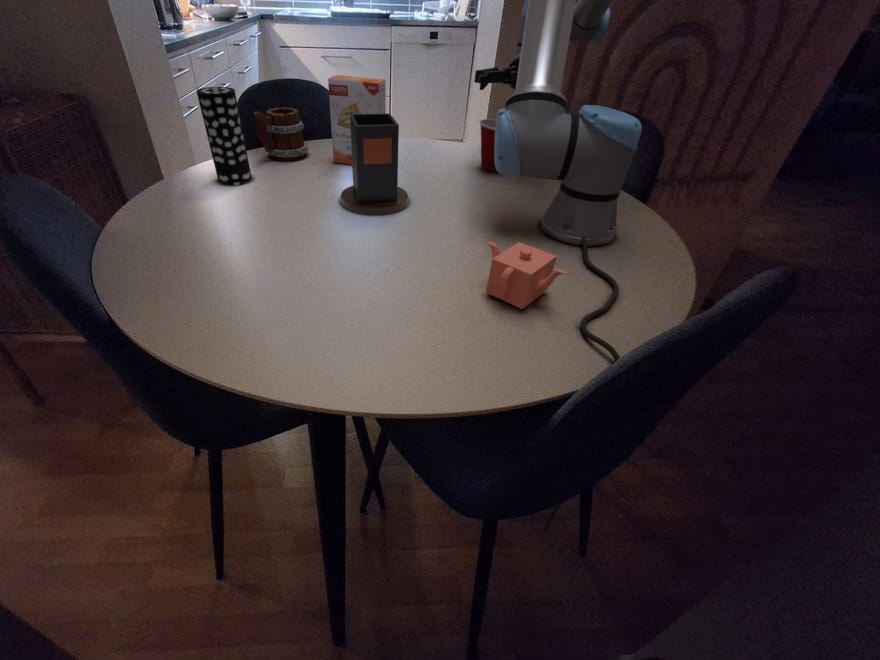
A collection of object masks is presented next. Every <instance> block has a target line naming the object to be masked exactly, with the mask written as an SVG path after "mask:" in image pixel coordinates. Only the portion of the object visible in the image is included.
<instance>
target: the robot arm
mask: <svg viewBox="0 0 880 660" xmlns="http://www.w3.org/2000/svg"><path fill="white" fill-rule="evenodd" d="M612 2H613V0H524V3H523V9H522V13H521V18H520V25H519V31H518V37H517V44H516V48H515V53H514V58H513V59H512V61H511V62H510V63H509V64H508V66H506V67H503V68H502V69H501V68H500V66H498V65H496V66H493V67H488V68H483V69H482V68H481V69H476V70H475V74H474V81H473V82H474V83H475V84H479V91H483V90H485V89H486V87H487V86H488V85H489V84H497V83H500V84H503V85H508V86H509V87H510V88H511V89H512V90H514V92H513V93H512V94H511V95H510V96H508V97H507V98H506V100H505V104H504V107H502V108H500V109H498V110H497V112H496V115H495V116H496V117H495V119H496V124H495V125H496V127H495V143H494V160H495V168H496V170H497V172H496V173H498V174H500V175H503V176H510V177H515V178H517V179H519V178H531V179H532V178H533V179H543V180H554V181H561V182H560V185H559V189H558V192H557V193H556V195H555V196H554V198H553V200H552V201H551V203H550V204H549V206H548V208H547V209H546V210H545V212H544V214H543V216H542V220H541V224H540V227H541V229H542V231H543V232H544V233H545V234H546V235H547V236H549V237H551V238H553V239H555V240H557V241H560V242H563V243H566V244H569V245H574V246H582V252H583V261H584V263H585V265H586V266H587V267H588V268H589V269H590V270H591V271H593V272H594V273H596V274H597V275H599V276H601V277H603V278H604V279H606V280H607V282H609V283H610V284H611V286H612V291H613V292H612V294H611V296H610V298H609V299H608V301H607V302H606V303H605V305H603V306H602V307H600V308H599V309H596V310H594V311H592V312H590V313H588V314H587V315H585V316H584V317H583V318H582V319H581V321H580V331H581V332H582V334H583V336H585V337H586V338H587V339H589V340H591V341H592V342H594V343H596V344H597V345H600V346H601V347H602V348H604V349H605V350H606V351H607V352H608V353H609V354H610V355H611V356H612V358H613V360H614V362H615V361H617V360H618V359H619V358H620V359H621V356H620V354H619V353H618V351H617V350H616V349H615V348H614V346H612V345H611V344H610V343H608V342H607V341H605V340H604V339H602V338H600V337H598V336H597V335H595V334H593V333H592V332H590V331H589V330H588V328H587V324H588V321H590V320H591V319H593V318H595V317H597V316H599V315H601V314H603V313H605V312H606V311H607V310H609V309H610V308H611V307H612V305H613V304H614V303H615V301H616V299H617V297H618V295H619V293H620V292H619V285H618V282H617V281H616V280H615V279H614V278H613V277H612V276H611V275H609V274H608V273H607V272H605V271H604V270H602V269H600V268H598V267H597V266H595V265H594V264H593V263H592V262H591V261H590V258H589V248H588V247H599V246H603V245H606V244H608V243H610V242H612V241H613V239H614V236H615V234H616V232H617V217H618V212H617V211H618V199H619V196H620V194H621V190H622V188H623V185H624V183H625V180H626V178H627V174H628V171H629V170H630V166H631V163H632V161H633V157H634V155H635V153H636V151H637V150H638V144H639V142H640V137H641V135H642V129H643V125H642V123H641V121H640V120H639V119H638V118H637V117H635V116H633V115H631V114H630V113H627V112H624V111H622V110H618V109H614V108H611V107H607V106H601V105H595V104H592V105H591V104H584V105H582V106H581V108H580V109H579V110H578V114H573V113H567V106H568V100H567V98H566V97H565V96H564V94H562V87H563V81H564V75H565V69H566V63H567V58H568V52H569V51H568V50H569V44H570V42H581V43H582V42H583V43H586V44H587V43H599V42H601V41H602V40H603V39H604V37H605V35H606V32H607V30H608V26H609V23H610V18H611V8H610V6H611V4H612ZM562 504H563V502H560V503H559V504H556V503H555V505H554V507H553V508H552V510H551V513H550V515H549V516H548V519H547V520H546V522H545V524H544V527H543V531H544V532H548V531H549V528H550V526H551V525H552V523H553V520H554V518H555V516H556V515H557V513H558V511H559V509H560V507H561V506H562Z"/></svg>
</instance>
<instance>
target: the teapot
mask: <svg viewBox="0 0 880 660" xmlns="http://www.w3.org/2000/svg"><path fill="white" fill-rule="evenodd" d="M486 244H487V245H488V246H489V247H490V249H491V253H492V254H491V255H492V259H491V263H490V269H489V274H488V280H487V285H486V291H485V293H486V294H488V295H491V296H493V297H495V298H497V299H500V300H502V301H503V302H505V303H508V304H510V305H512V306H514V307H516V308H518V309H521V310H524V309H525V308H527V306H529V305H530V304H531V303H533V302H534V301H535V300H536V299H538V297H540V296H541V295H542V294H544V293H545V292H547V291H548V289H549V287H550V286H552V284H553V283H554V281H555V280H556V278H557V277H558V276H561V275H565V274H566V275H567V274H569V271H567V270H565V269H562V268H556V269H554V268H555V265H556V261H557V258H558V256H557V255H555V254H552V253H550V252H547V251H544V250H542V249H540V248H536V247H534V246H531V245H528V244H525V243H523V242H520V241H519V242H517V243H515V244H514V245H512V246H510V247H509V248H507V249H505V250H504V251H502V252H500V249H499V246H498V245H497V244H496V243H495V242H493V241H490V240H486Z"/></svg>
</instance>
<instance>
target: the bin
mask: <svg viewBox="0 0 880 660" xmlns="http://www.w3.org/2000/svg"><path fill="white" fill-rule="evenodd" d="M350 124H351V147H352V165H351V167H352V186H353V188H354V191H355V194H356V197H357V200H358V203H375V202H394V201H397V187H398V183H399V181H398V179H399V178H398V176H399V136H400V125H399V123H398V122H397V120H396V119H395V118H394V116H393V115H392V114H391V113H385V114H350Z"/></svg>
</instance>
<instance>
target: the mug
mask: <svg viewBox="0 0 880 660" xmlns="http://www.w3.org/2000/svg"><path fill="white" fill-rule="evenodd" d="M253 115H254V117H256V120H257V122H256V132H257V135H258V138H259V139H260V142H261V144H262V145H263V149H264V151H265V152H266V153H268V154H269V156H270V158H271V159H272V160H275V161H279V162H291V161H292V162H295V161H299V160H303V159H304V158H306V156H307V153H308V150H309V147H308V145H307V143H306V142H305V141H304V140H305V139H304V135H303V129H304V127H305V124H304V122H303V121H302V120H301V119H300V112H299V110H298V109H297V108H294V107H287V106H286V107H284V106H282V107H273V108H269V109H268V110H267V111H266V115H265V114H264V113H261V112H259V111H257V110H255V111H254V112H253ZM267 132H268V133H267Z"/></svg>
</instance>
